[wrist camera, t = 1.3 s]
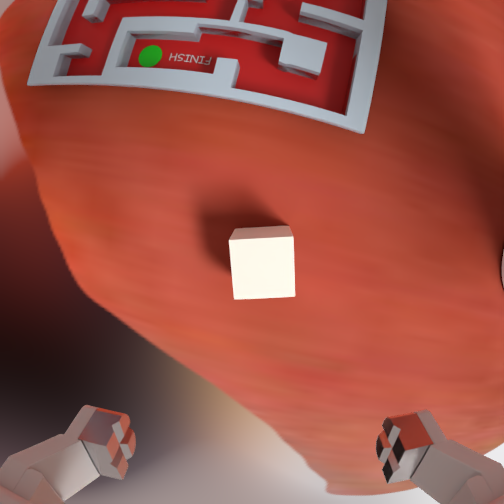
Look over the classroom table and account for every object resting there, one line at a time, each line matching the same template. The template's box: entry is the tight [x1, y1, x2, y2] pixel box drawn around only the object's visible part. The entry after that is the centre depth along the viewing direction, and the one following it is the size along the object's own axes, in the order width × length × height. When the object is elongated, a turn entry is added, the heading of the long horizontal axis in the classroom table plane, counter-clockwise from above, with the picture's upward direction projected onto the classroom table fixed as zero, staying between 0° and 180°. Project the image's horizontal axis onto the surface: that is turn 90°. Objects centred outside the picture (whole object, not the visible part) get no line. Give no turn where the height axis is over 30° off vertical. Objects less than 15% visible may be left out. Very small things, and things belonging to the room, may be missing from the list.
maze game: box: [27, 0, 387, 134], centre depth 22 cm, size 35×20×3 cm, turn 77°
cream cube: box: [229, 226, 295, 299], centre depth 27 cm, size 5×5×5 cm
